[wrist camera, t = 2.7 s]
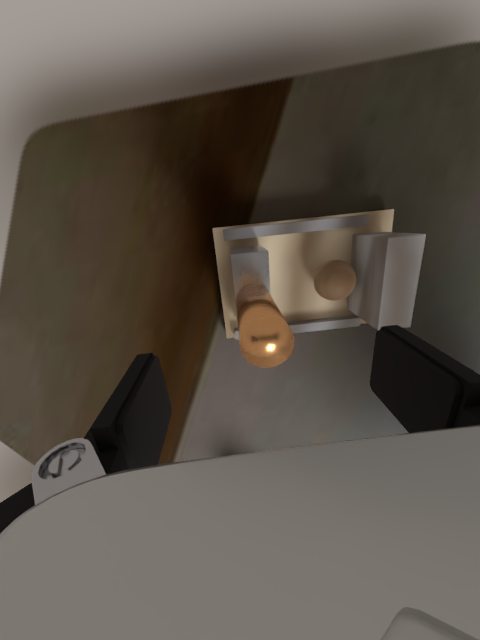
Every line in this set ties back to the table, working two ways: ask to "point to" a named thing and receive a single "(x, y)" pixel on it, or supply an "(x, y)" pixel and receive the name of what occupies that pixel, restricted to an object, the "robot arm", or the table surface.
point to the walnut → (335, 280)
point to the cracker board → (318, 248)
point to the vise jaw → (258, 309)
